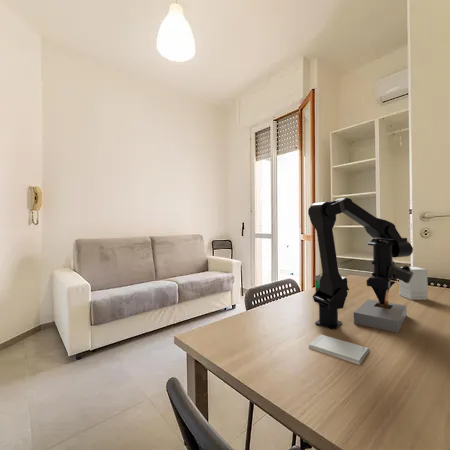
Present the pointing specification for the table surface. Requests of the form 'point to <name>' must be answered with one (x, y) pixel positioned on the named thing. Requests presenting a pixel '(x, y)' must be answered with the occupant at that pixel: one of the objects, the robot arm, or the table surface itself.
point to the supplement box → (415, 285)
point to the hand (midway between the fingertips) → (383, 303)
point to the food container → (317, 281)
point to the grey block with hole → (381, 315)
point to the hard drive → (340, 349)
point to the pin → (384, 303)
